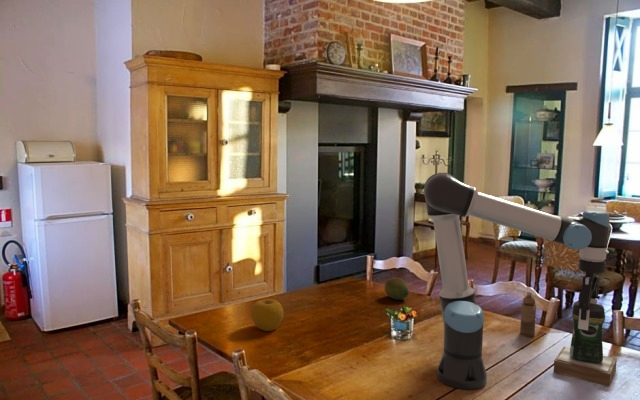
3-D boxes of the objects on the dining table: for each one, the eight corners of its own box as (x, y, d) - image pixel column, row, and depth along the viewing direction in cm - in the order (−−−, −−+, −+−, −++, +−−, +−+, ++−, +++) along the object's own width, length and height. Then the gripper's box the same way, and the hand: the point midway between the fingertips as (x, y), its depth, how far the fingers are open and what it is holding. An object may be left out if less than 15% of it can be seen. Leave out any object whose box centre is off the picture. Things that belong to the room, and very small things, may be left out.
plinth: (609, 386, 155) (610, 373, 155) (553, 372, 165) (554, 359, 164) (615, 370, 166) (616, 357, 166) (563, 357, 176) (563, 345, 176)
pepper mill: (532, 337, 194) (534, 295, 192) (518, 334, 197) (520, 292, 195) (536, 333, 198) (538, 292, 196) (522, 330, 201) (524, 289, 199)
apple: (246, 332, 197) (246, 304, 196) (258, 321, 210) (258, 294, 209) (277, 335, 194) (277, 307, 193) (287, 324, 207) (287, 297, 206)
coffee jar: (600, 356, 167) (604, 301, 165) (604, 366, 160) (608, 309, 158) (568, 351, 171) (571, 298, 169) (569, 360, 163) (573, 305, 161)
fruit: (395, 293, 250) (396, 273, 249) (415, 299, 241) (416, 279, 240) (379, 297, 243) (379, 277, 242) (399, 304, 233) (399, 283, 232)
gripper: (599, 268, 149) (593, 337, 152) (611, 254, 169) (606, 315, 172) (571, 264, 154) (565, 331, 156) (586, 251, 174) (581, 311, 176)
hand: (586, 323), depth 164 cm, fingers open, 13 cm apart
